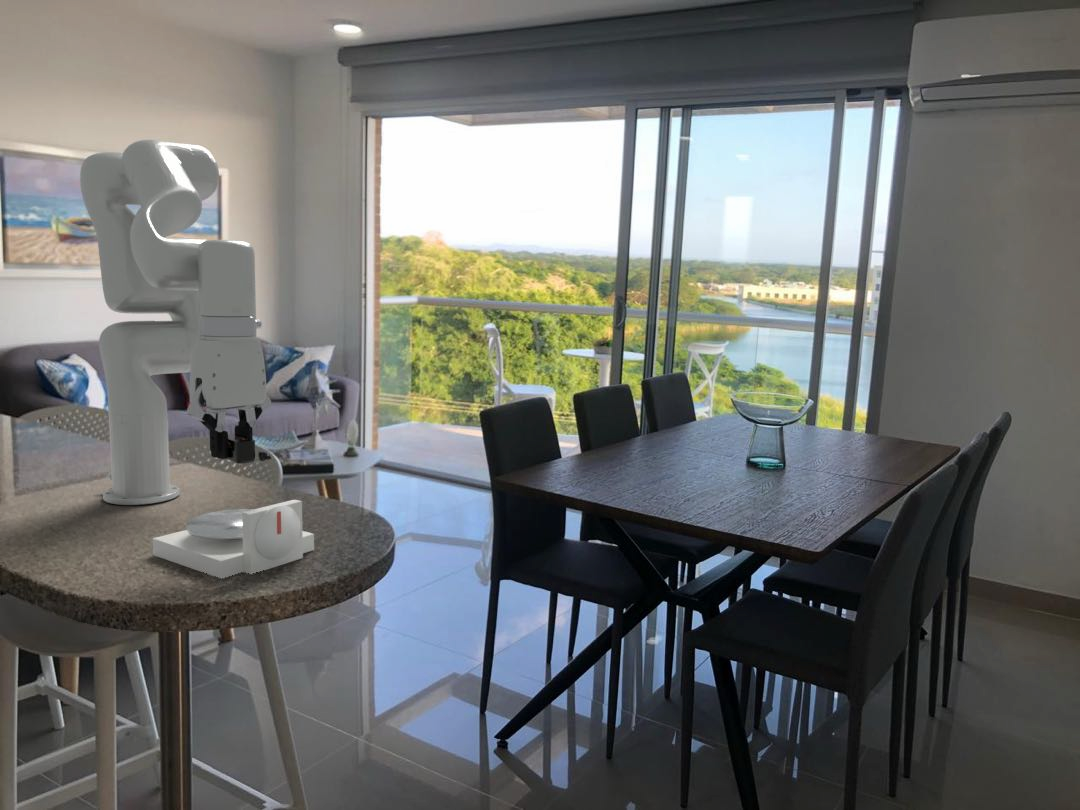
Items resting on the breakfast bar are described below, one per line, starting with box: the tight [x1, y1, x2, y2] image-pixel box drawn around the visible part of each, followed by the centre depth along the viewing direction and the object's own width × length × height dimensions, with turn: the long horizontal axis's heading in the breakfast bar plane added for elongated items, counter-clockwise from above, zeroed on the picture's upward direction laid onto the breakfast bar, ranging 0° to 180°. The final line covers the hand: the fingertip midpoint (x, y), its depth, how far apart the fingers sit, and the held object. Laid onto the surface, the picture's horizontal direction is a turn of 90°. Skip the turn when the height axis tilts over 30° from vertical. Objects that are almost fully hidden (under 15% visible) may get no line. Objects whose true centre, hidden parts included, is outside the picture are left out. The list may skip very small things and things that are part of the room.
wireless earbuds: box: [226, 433, 272, 465], centre depth 126 cm, size 5×7×3 cm, turn 45°
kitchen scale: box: [152, 499, 315, 580], centre depth 128 cm, size 18×16×9 cm
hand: (231, 454), depth 127 cm, fingers closed on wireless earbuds, 3 cm apart
